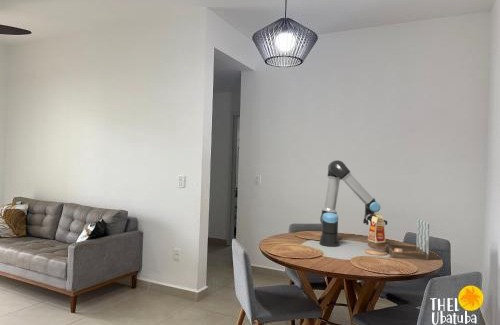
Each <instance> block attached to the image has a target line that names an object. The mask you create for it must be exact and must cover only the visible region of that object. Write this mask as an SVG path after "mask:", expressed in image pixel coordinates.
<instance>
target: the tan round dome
mask: <svg viewBox="0 0 500 325" xmlns="http://www.w3.org/2000/svg"><path fill="white" fill-rule="evenodd" d="M364 253H365V254H369V255H373V256H387V255H388V252H387V250H383V249H379V248H365V249H364Z"/></svg>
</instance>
